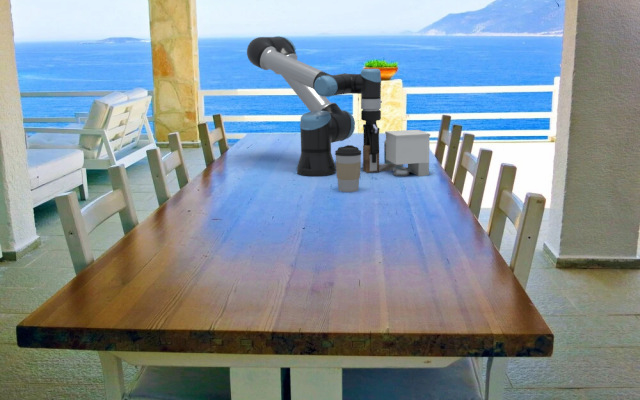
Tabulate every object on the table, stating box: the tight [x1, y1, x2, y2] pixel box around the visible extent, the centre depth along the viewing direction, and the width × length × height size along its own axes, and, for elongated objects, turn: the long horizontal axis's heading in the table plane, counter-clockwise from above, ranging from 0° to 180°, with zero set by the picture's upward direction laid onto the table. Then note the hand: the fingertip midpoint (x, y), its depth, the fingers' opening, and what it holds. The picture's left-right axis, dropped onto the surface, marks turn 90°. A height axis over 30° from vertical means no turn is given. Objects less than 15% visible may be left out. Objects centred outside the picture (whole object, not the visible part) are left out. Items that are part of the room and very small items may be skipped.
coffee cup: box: [334, 144, 362, 193], centre depth 235 cm, size 9×9×15 cm
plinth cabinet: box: [385, 129, 431, 177], centre depth 261 cm, size 13×12×16 cm
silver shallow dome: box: [393, 166, 411, 177], centre depth 261 cm, size 6×6×2 cm
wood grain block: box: [362, 144, 401, 174], centre depth 269 cm, size 14×5×10 cm, turn 103°
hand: (371, 169), depth 269 cm, fingers closed on wood grain block, 5 cm apart
